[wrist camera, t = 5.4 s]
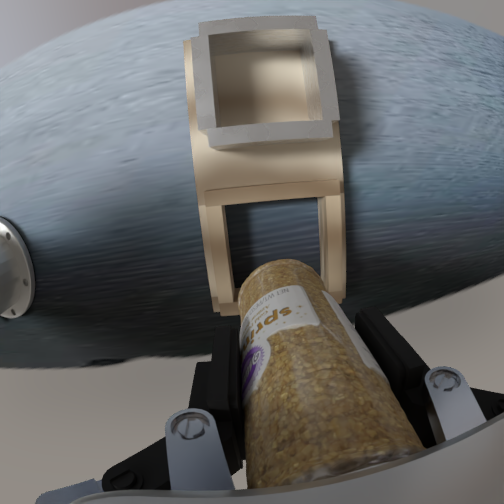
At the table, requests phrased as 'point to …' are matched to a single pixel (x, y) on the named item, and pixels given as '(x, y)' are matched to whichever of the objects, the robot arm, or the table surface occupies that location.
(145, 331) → the table surface
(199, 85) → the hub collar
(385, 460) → the sprinkles bottle
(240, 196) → the stand board
